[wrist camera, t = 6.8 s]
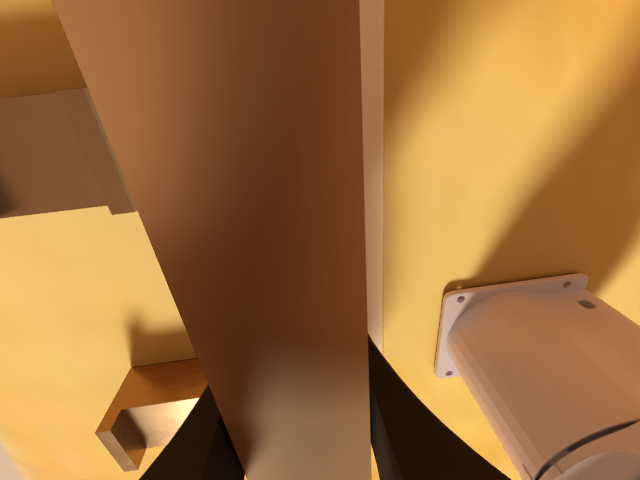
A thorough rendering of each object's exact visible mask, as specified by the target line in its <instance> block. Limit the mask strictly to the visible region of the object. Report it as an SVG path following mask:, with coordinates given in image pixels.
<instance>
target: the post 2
mask: <svg viewBox="0 0 640 480" xmlns="http://www.w3.org/2000/svg"><path fill="white" fill-rule="evenodd" d="M207 384H208V382H207V379H206V377H205V374H204V372H203V370H202V367H201V365H200V362H199V360H198V358H197V359H190V360H183V361H176V362H169V363H162V364H155V365H148V366H141V367H134V368H131V369H130V370H129V372H128V374H127V376H126V378H125V380H124V381H123V383H122V385H121V387H120V389H119V390H118V392H117V394H116V396H115V398H114V399H113V401H112V403H111V405H110V407H109V409H108V410H107V412H106V414H105V416H104V418H103V419H102V421H101V423H100V425H99V427H98V429H97V430H96V432H95V434H96V435H97V437H98V438H99V439H100V440H101V442H102V443H103V444H104V446H105V447H106V448H107V450H108V451H109V452H110V453H111V455H112V456H113V457H114V459H115V460H116V461H117V463H118V464H119V465H120V467H121V468H122V469H123V470H124V472H126V471H133V470H138V469H139V466H140V463H141V461H142V458H143V456H144V453H145V451H146V448H151V447H158V446H165V445H167V444H168V443H169V441H170V440H171V439H172V437H173V436H174V435H175V433H176V432H177V430H178V429H179V428H180V426H181V425H182V423H183V422H184V420H185V419H186V417H187V416H188V414H189V413H190V411H191V410H192V408H193V407H194V405H195V404H196V402H197V401H198V399H199V398H200V396H201V394H202V393H203V391H204V389H205V388H206V386H207Z"/></svg>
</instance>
